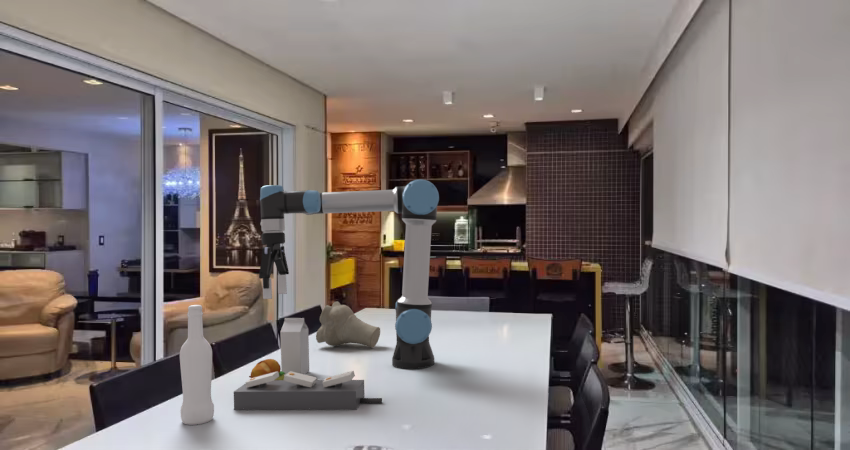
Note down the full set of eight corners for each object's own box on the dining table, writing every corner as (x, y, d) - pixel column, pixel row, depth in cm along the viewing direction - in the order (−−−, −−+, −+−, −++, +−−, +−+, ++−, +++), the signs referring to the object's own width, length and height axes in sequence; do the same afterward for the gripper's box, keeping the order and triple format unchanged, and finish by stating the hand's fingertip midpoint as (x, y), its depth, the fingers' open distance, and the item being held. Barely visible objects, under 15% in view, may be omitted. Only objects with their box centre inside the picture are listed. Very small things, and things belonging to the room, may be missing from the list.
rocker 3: (354, 375, 169) (353, 370, 169) (351, 380, 164) (349, 374, 164) (328, 382, 169) (326, 377, 169) (323, 387, 164) (322, 381, 164)
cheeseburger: (293, 383, 189) (289, 354, 186) (275, 401, 179) (270, 370, 177) (266, 381, 192) (261, 353, 190) (246, 398, 182) (241, 368, 180)
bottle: (186, 416, 158) (183, 303, 158) (217, 414, 159) (215, 302, 159) (176, 426, 150) (173, 307, 150) (209, 424, 151) (206, 306, 151)
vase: (400, 312, 251) (342, 295, 260) (381, 311, 231) (319, 293, 240) (386, 363, 249) (328, 344, 259) (366, 366, 229) (304, 346, 238)
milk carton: (301, 376, 198) (299, 319, 198) (281, 376, 199) (279, 319, 200) (309, 371, 205) (308, 316, 205) (290, 371, 206) (288, 316, 206)
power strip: (385, 397, 171) (384, 376, 171) (378, 409, 159) (377, 388, 159) (250, 397, 175) (250, 377, 175) (234, 409, 163) (233, 388, 163)
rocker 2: (315, 382, 170) (317, 377, 170) (311, 387, 165) (312, 381, 165) (289, 376, 170) (290, 370, 170) (283, 380, 165) (284, 374, 165)
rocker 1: (279, 376, 170) (277, 370, 170) (273, 380, 165) (271, 374, 165) (253, 383, 171) (251, 377, 171) (246, 387, 166) (245, 382, 166)
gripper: (275, 232, 210) (277, 292, 209) (246, 233, 185) (249, 301, 185) (296, 231, 209) (298, 291, 209) (270, 232, 184) (272, 300, 184)
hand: (275, 296), depth 197 cm, fingers open, 13 cm apart
